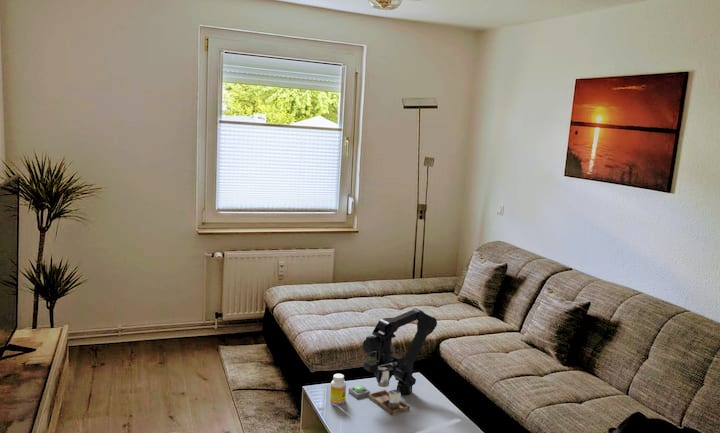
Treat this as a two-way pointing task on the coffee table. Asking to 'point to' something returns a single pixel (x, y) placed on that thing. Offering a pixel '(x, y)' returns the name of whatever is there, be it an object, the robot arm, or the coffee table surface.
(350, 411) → the coffee table surface
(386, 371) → the cylinder
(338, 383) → the supplement bottle
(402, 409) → the wooden tray
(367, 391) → the grey square tray
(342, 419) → the coffee table surface
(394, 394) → the cylinder
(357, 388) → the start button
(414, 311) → the robot arm
